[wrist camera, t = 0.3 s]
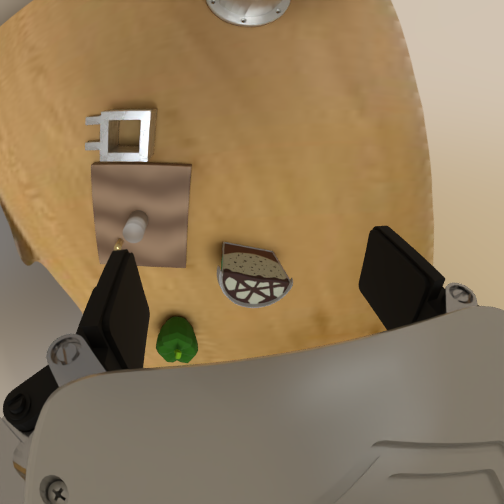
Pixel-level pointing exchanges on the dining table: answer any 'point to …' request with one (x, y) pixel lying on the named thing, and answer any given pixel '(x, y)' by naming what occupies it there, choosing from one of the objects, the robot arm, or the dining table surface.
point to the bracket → (111, 135)
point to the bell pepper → (177, 341)
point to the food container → (252, 276)
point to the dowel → (118, 244)
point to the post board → (142, 211)
